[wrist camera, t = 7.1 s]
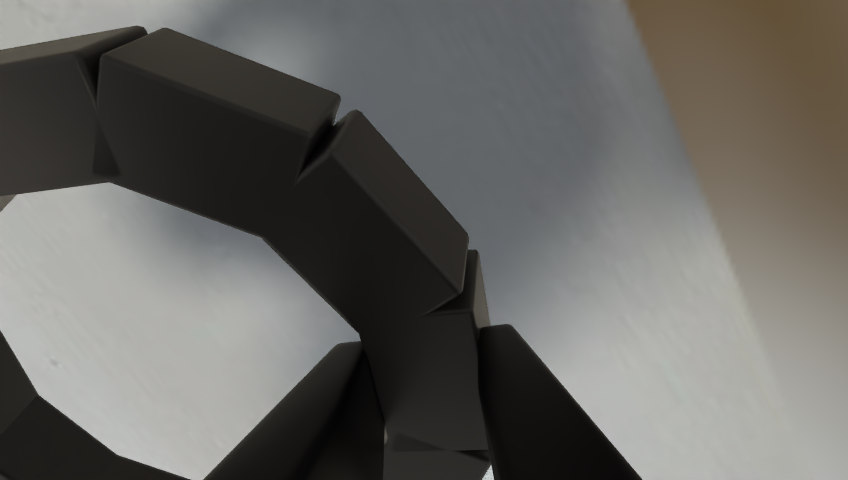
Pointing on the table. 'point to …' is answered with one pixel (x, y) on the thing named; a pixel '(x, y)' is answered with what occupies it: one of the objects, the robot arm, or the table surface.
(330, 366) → the robot arm
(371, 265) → the hoop
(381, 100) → the table surface
